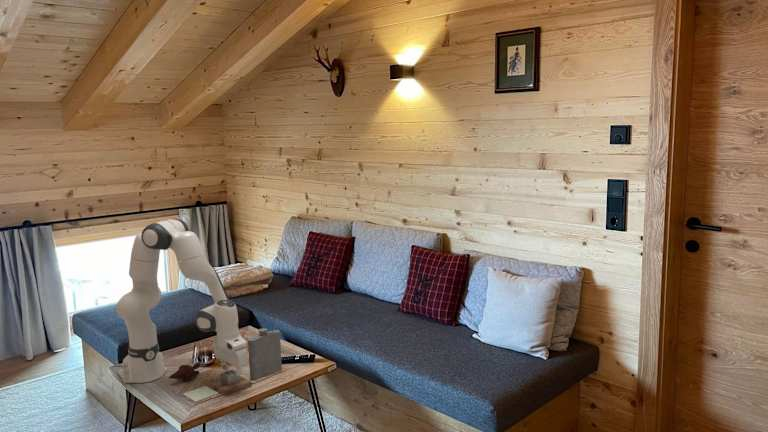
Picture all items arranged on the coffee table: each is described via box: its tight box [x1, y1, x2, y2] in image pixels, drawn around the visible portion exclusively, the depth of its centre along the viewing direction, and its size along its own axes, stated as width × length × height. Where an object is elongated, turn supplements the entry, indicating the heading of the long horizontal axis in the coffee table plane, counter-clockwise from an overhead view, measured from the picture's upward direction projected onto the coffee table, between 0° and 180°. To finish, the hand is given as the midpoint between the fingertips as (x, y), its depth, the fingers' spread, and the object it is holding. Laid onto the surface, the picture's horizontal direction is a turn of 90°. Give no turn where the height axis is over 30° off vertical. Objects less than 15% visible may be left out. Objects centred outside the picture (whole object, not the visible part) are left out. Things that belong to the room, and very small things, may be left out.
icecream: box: [168, 362, 202, 382], centre depth 255 cm, size 7×7×15 cm
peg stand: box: [209, 372, 253, 397], centre depth 248 cm, size 12×12×6 cm
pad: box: [182, 385, 219, 403], centre depth 242 cm, size 10×10×1 cm
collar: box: [220, 368, 241, 386], centre depth 247 cm, size 6×6×4 cm
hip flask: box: [247, 327, 283, 382], centre depth 258 cm, size 16×4×20 cm, turn 138°
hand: (231, 372), depth 247 cm, fingers open, 8 cm apart
